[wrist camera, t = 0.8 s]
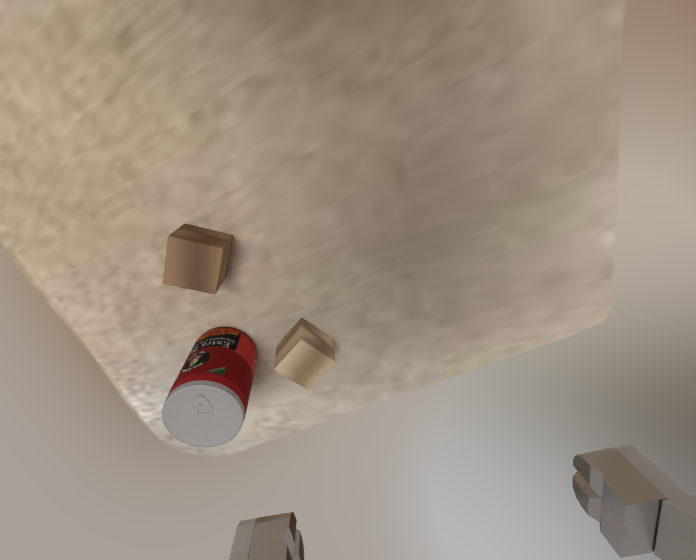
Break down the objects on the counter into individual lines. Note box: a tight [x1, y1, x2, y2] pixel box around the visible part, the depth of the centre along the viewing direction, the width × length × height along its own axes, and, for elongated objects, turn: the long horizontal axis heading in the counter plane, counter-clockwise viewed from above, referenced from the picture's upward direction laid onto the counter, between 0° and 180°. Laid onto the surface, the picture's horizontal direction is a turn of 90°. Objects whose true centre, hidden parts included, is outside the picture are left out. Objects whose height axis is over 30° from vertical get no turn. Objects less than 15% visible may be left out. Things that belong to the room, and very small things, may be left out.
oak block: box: [274, 318, 335, 390], centre depth 42 cm, size 5×5×5 cm
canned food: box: [162, 327, 257, 447], centre depth 38 cm, size 8×8×11 cm
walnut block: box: [163, 224, 233, 294], centre depth 36 cm, size 5×5×5 cm
